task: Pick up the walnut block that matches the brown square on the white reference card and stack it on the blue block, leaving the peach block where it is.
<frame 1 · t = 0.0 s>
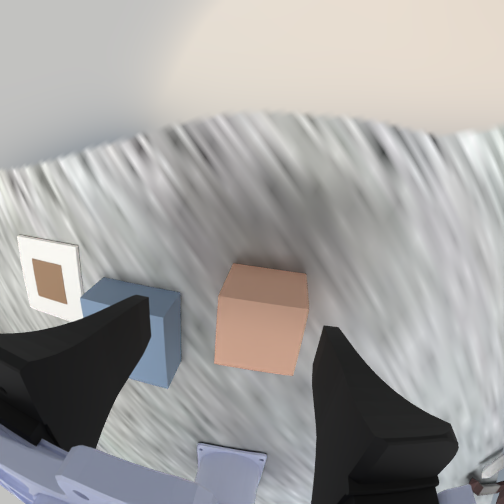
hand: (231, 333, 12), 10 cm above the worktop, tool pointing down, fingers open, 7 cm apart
reference card: (51, 279, 25), on the worktop
blue block: (143, 319, 25), on the worktop
peach block: (265, 299, 23), on the worktop
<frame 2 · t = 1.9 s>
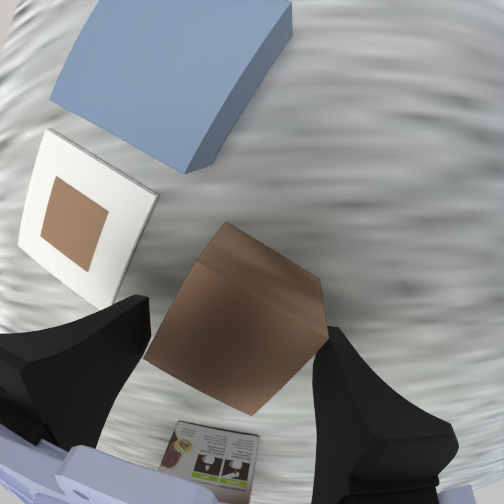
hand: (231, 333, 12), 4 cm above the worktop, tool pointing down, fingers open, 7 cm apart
reference card: (75, 222, 15), on the worktop
blue block: (186, 65, 12), on the worktop
walnut block: (246, 290, 16), on the worktop, touching gripper
coffee box: (217, 455, 22), on the worktop
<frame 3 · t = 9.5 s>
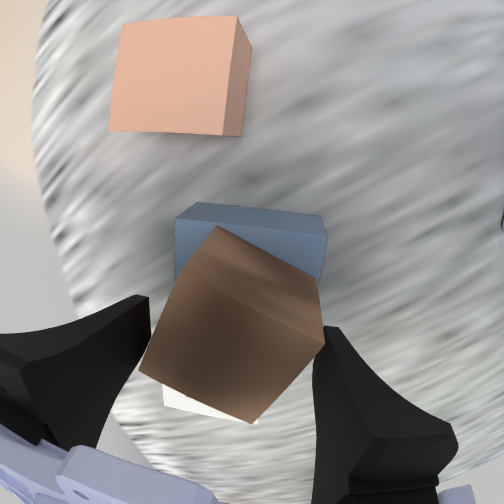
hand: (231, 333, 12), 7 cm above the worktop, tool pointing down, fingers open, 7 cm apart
reference card: (212, 381, 22), on the worktop
blue block: (252, 264, 19), on the worktop
walnut block: (241, 295, 15), point 4 cm above the worktop
peach block: (200, 88, 16), on the worktop
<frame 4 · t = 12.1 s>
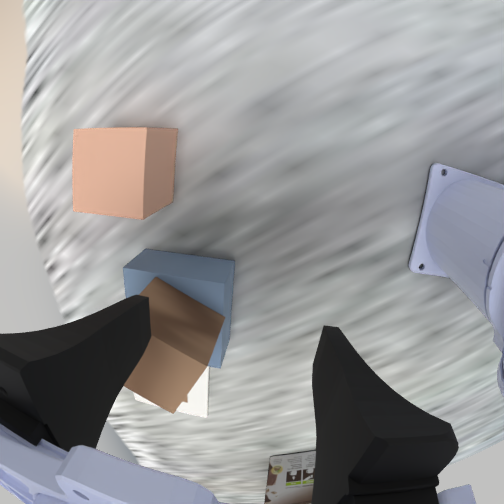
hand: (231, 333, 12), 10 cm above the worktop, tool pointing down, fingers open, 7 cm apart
reference card: (168, 381, 28), on the worktop
blue block: (189, 294, 24), on the worktop, touching walnut block
walnut block: (175, 324, 21), point 4 cm above the worktop, touching blue block
coffee box: (303, 468, 32), on the worktop
peach block: (142, 163, 21), on the worktop
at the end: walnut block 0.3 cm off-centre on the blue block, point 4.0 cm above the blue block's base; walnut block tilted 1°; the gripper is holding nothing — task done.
